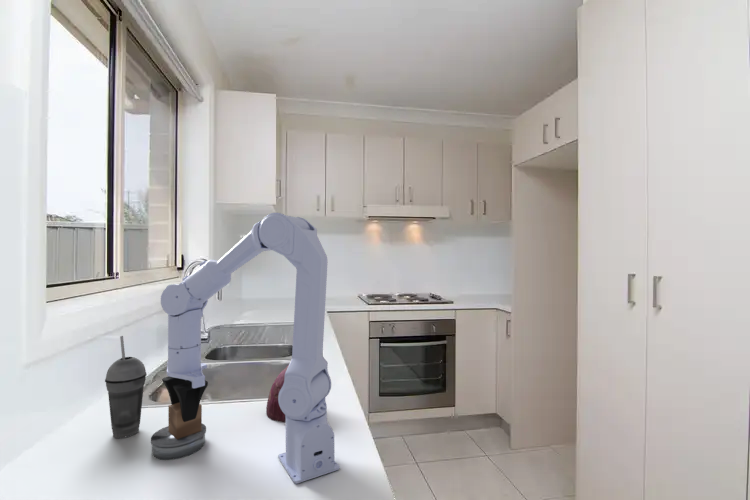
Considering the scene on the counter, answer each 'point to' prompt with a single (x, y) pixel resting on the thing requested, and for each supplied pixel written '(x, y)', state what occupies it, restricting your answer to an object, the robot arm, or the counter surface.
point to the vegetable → (276, 399)
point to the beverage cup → (125, 394)
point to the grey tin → (176, 444)
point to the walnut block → (179, 426)
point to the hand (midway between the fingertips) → (184, 415)
